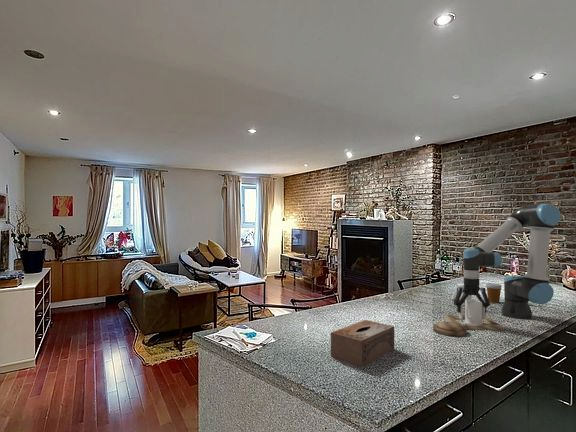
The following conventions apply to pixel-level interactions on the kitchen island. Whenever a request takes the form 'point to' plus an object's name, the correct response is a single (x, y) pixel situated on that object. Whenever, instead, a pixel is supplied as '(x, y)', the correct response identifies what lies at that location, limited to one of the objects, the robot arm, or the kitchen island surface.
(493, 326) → the square wooden frame
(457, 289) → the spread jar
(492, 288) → the disposable coffee cup
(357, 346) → the tissue box cover
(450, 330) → the brown wooden saucer
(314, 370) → the kitchen island surface
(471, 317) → the mug
